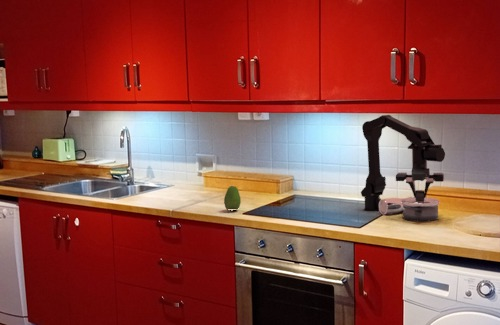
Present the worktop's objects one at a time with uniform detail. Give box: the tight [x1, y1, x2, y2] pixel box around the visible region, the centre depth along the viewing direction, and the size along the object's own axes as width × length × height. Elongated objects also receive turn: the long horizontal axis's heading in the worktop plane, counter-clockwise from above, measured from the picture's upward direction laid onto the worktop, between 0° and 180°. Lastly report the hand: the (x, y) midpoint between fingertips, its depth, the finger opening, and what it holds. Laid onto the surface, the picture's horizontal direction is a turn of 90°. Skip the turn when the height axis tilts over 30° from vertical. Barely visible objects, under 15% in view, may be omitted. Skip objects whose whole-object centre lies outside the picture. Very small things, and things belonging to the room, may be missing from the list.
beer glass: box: [379, 196, 412, 216], centre depth 257 cm, size 7×7×15 cm
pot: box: [402, 204, 439, 223], centre depth 243 cm, size 14×18×5 cm
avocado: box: [223, 185, 242, 210], centre depth 277 cm, size 8×8×12 cm
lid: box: [401, 189, 440, 207], centre depth 243 cm, size 15×15×5 cm
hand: (420, 197), depth 244 cm, fingers closed on lid, 3 cm apart
